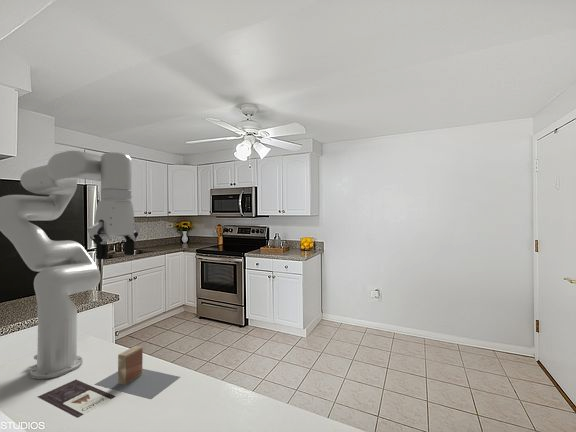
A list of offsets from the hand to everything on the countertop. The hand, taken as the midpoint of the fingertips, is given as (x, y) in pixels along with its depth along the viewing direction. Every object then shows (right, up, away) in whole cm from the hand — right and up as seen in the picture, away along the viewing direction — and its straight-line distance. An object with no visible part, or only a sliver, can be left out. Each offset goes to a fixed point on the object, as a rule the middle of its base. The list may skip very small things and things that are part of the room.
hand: (116, 256), depth 82 cm
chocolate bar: (-6, -36, -8) cm, 37 cm away
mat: (+7, -36, 0) cm, 36 cm away
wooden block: (+4, -35, +1) cm, 35 cm away
